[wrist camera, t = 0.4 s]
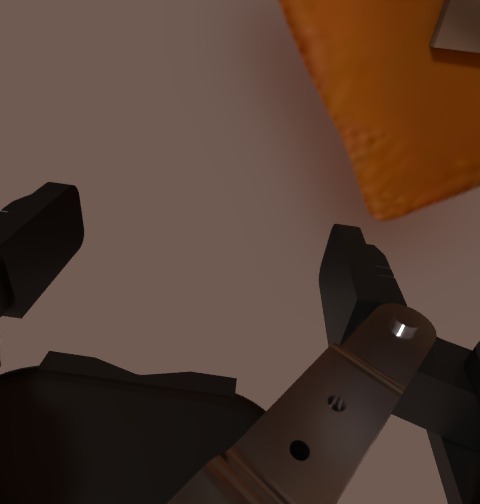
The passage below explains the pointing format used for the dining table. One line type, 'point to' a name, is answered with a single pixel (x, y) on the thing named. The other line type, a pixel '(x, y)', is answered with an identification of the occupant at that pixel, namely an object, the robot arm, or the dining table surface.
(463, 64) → the dining table surface
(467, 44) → the square mounting plate
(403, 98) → the dining table surface
